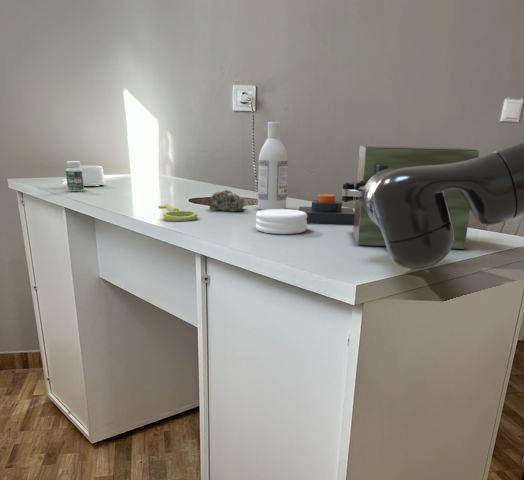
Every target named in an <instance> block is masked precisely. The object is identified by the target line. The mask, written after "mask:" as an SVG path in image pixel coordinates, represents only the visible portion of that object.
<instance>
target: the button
mask: <svg viewBox="0 0 524 480" xmlns="http://www.w3.org/2000/svg"><path fill="white" fill-rule="evenodd" d="M318 200H319V202H321V203H335V201H336V194H329V193H325V194H324V193H323V194H321V193H320V194H319V195H318Z"/></svg>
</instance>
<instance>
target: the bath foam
mask: <svg viewBox="0 0 524 480" xmlns="http://www.w3.org/2000/svg"><path fill="white" fill-rule="evenodd" d="M258 155H259V156H258V180H257V181H258V183H257V185H258V187H257V194H258V195H257V208H258V210H259V211H261V210H267V209H286V208H287V190H288V167H289V166H288V165H289V164H288V163H289V161H288V159H289V157H288V152H287V149H286V148H285V145H284V143H283V141H282V140H281V122H280V121H267V138H266V140H265V141H264V143H263V145H262V147H261V149H260V151H259V154H258Z"/></svg>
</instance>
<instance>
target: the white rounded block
mask: <svg viewBox="0 0 524 480" xmlns="http://www.w3.org/2000/svg"><path fill="white" fill-rule="evenodd" d="M80 168H81V169H82V171H83V183H84V186H96V185H104V184H105V185H106V179H105V175H104V169H103V166H101V165H81V167H80ZM103 182H105V183H103ZM90 183H91V184H90ZM92 183H101V184H92ZM105 185H104V186H105Z"/></svg>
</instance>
